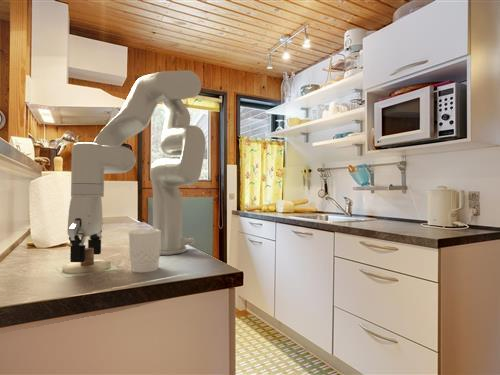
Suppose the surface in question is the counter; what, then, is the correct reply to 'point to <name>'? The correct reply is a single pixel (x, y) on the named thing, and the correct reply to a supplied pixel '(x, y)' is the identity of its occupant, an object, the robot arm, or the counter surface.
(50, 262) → the counter surface
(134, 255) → the white cup
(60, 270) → the mat
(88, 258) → the lid
